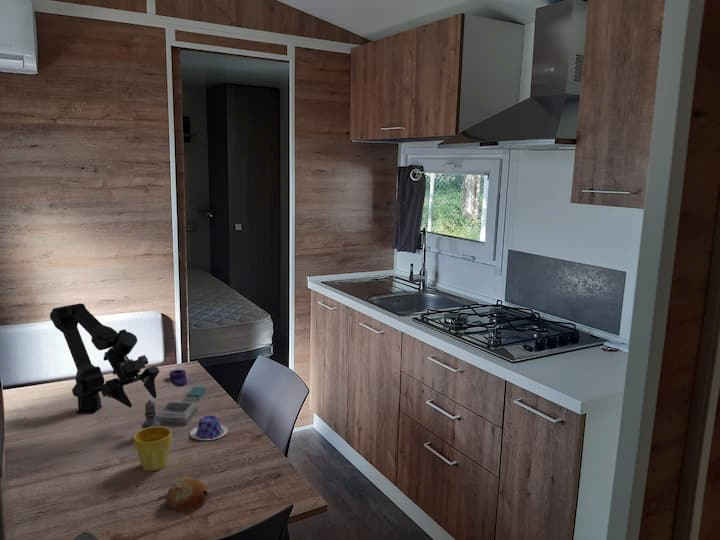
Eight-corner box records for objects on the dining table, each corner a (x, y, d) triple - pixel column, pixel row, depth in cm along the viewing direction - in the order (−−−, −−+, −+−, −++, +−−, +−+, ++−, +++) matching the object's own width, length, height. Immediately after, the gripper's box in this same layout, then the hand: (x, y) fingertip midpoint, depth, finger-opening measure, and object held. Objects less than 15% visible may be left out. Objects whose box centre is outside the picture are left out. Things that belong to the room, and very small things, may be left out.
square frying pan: (154, 423, 197) (154, 413, 196) (186, 391, 225) (185, 382, 225) (186, 424, 196) (186, 414, 195) (213, 392, 225) (213, 383, 224)
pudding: (182, 439, 186) (182, 424, 185) (202, 424, 197) (201, 409, 196) (216, 444, 183) (216, 428, 182) (234, 428, 194) (234, 413, 193)
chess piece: (154, 439, 185) (153, 404, 183) (138, 437, 186) (136, 402, 184) (164, 431, 191) (162, 397, 188) (148, 430, 192) (146, 395, 190)
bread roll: (179, 503, 156) (165, 479, 155) (214, 487, 157) (200, 462, 155) (171, 525, 147) (155, 499, 145) (208, 508, 147) (193, 482, 145)
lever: (168, 378, 240) (167, 371, 239) (183, 375, 243) (183, 368, 242) (175, 387, 229) (174, 380, 229) (191, 385, 232) (190, 377, 232)
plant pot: (137, 477, 162) (135, 445, 160) (133, 461, 171) (131, 430, 169) (176, 469, 167) (174, 437, 165) (169, 453, 176) (168, 423, 174)
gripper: (103, 356, 181) (127, 398, 176) (154, 342, 196) (177, 380, 192) (90, 376, 186) (113, 416, 182) (141, 360, 202) (163, 398, 197)
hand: (143, 402), depth 188 cm, fingers open, 9 cm apart
